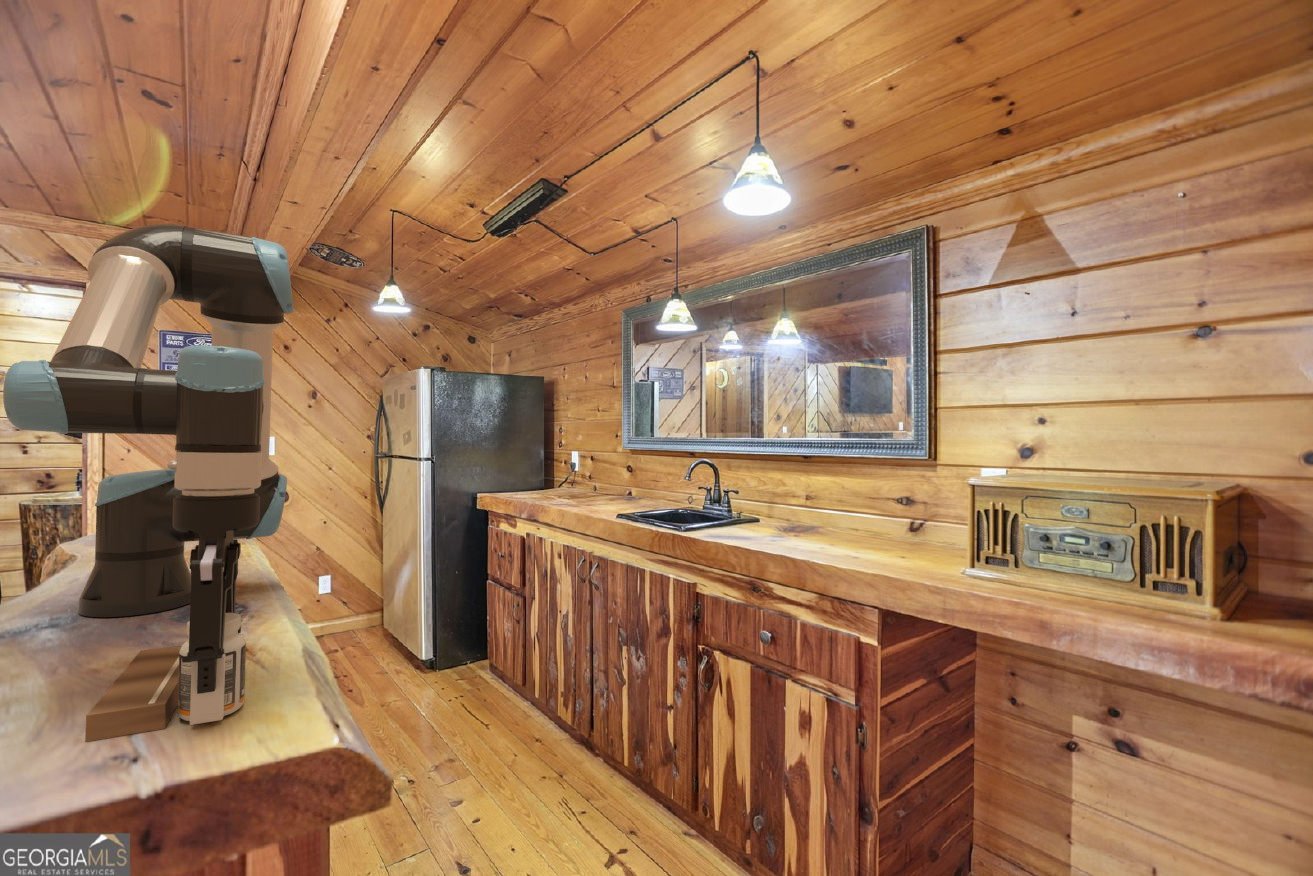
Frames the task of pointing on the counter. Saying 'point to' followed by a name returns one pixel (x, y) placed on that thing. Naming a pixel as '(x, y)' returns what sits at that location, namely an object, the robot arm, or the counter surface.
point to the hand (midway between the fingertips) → (211, 708)
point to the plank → (138, 696)
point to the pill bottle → (233, 669)
